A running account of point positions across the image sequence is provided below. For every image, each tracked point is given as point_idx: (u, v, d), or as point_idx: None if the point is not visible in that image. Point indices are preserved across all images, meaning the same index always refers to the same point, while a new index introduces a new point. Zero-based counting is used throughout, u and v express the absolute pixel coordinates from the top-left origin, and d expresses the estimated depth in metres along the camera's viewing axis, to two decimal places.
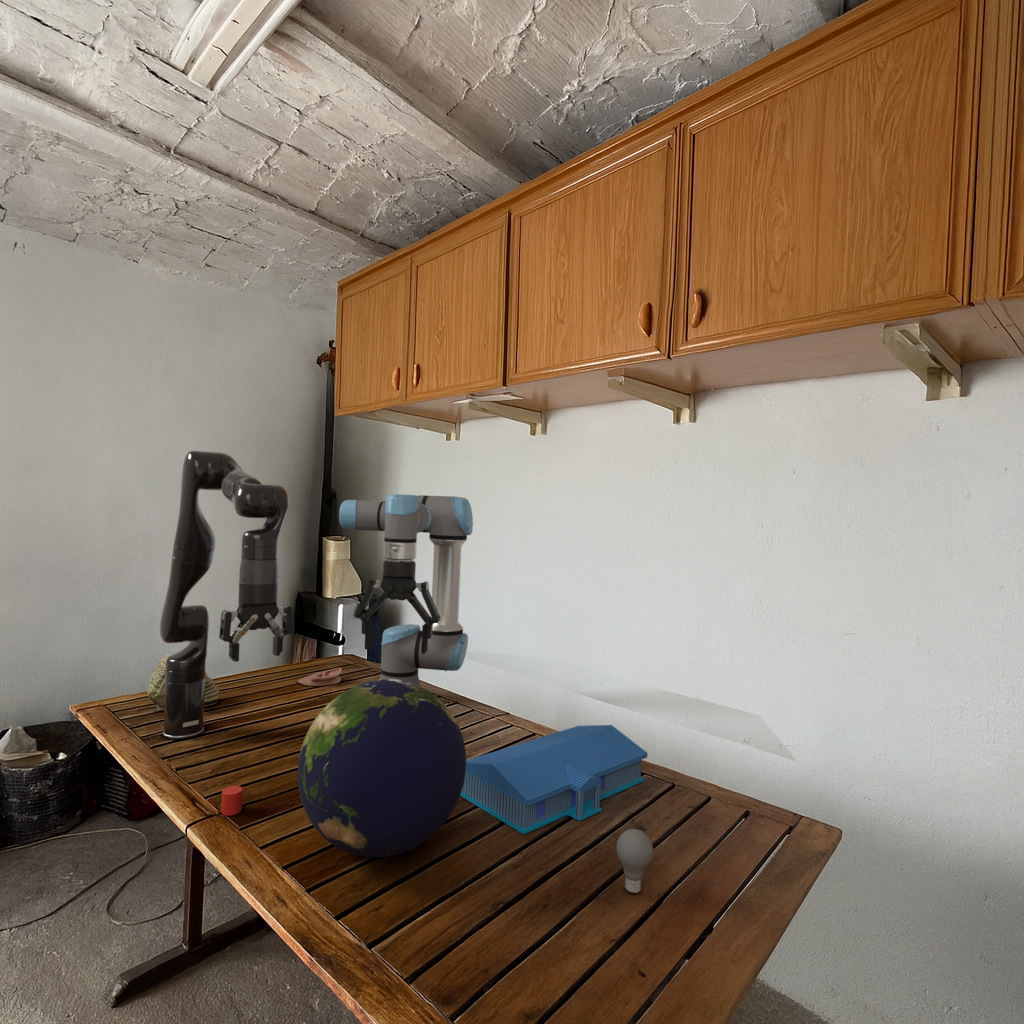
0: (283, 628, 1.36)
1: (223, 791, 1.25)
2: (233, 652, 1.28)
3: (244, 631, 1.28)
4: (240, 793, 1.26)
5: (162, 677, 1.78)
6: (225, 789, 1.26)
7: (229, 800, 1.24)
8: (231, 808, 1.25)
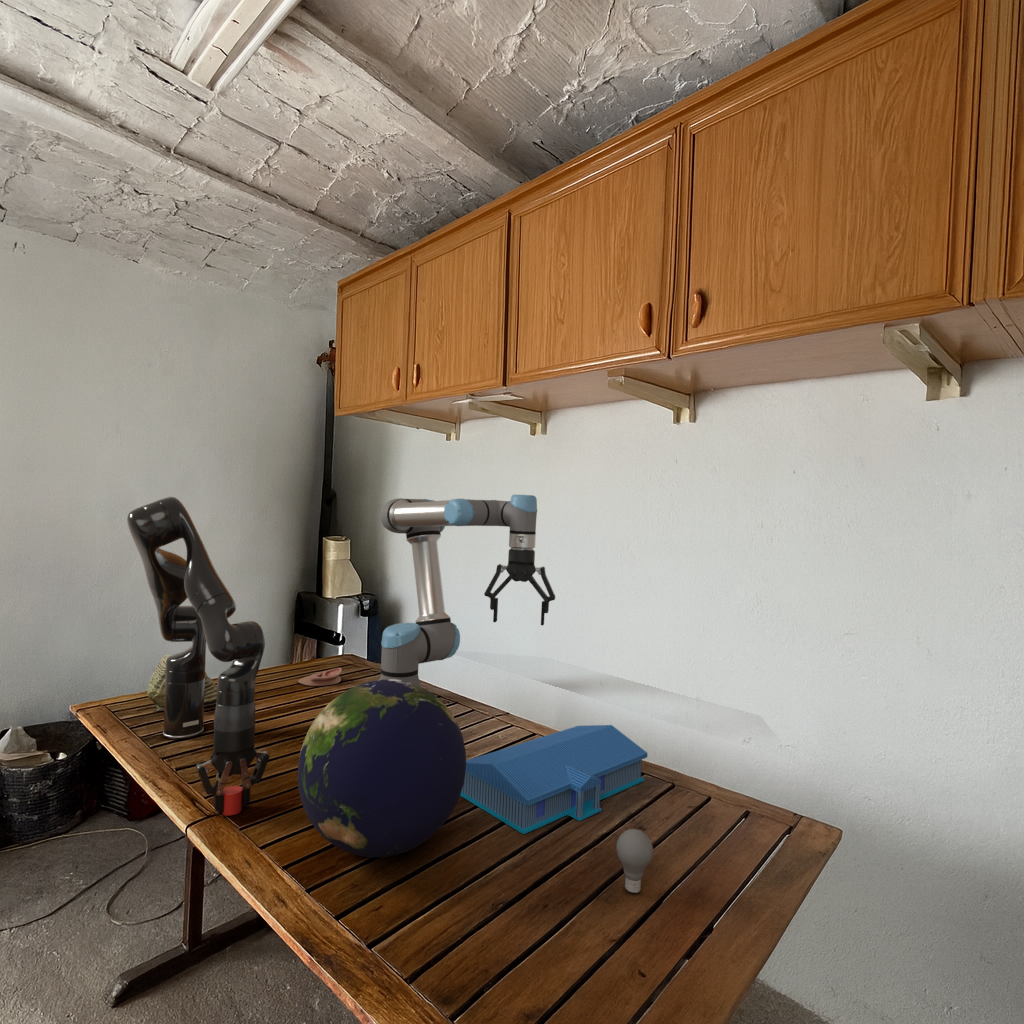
0: (212, 786, 1.24)
1: (223, 791, 1.25)
2: None
3: None
4: (240, 793, 1.26)
5: (162, 677, 1.78)
6: (225, 789, 1.26)
7: (229, 800, 1.24)
8: (231, 808, 1.25)
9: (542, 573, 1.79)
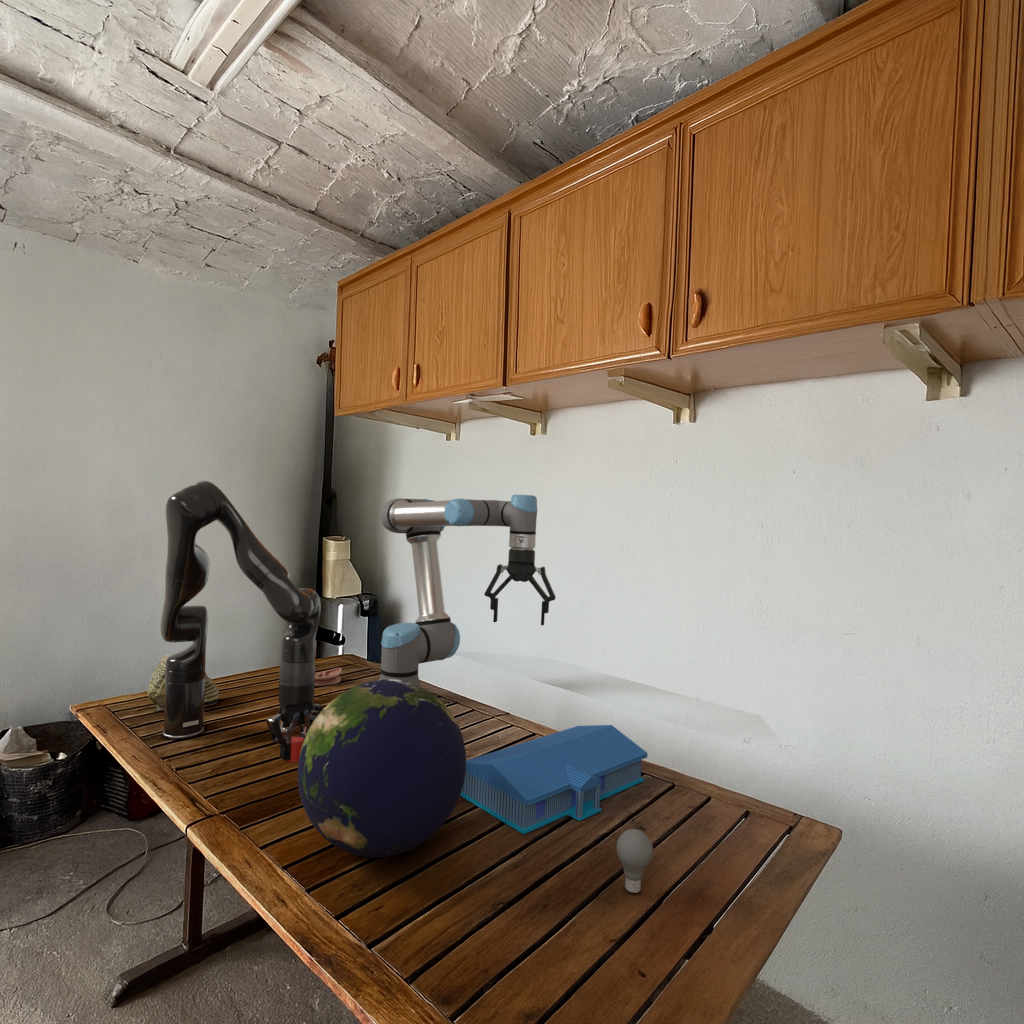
0: None
1: None
2: None
3: None
4: (303, 741, 1.40)
5: (162, 677, 1.78)
6: None
7: (296, 748, 1.38)
8: (298, 755, 1.39)
9: (542, 573, 1.79)
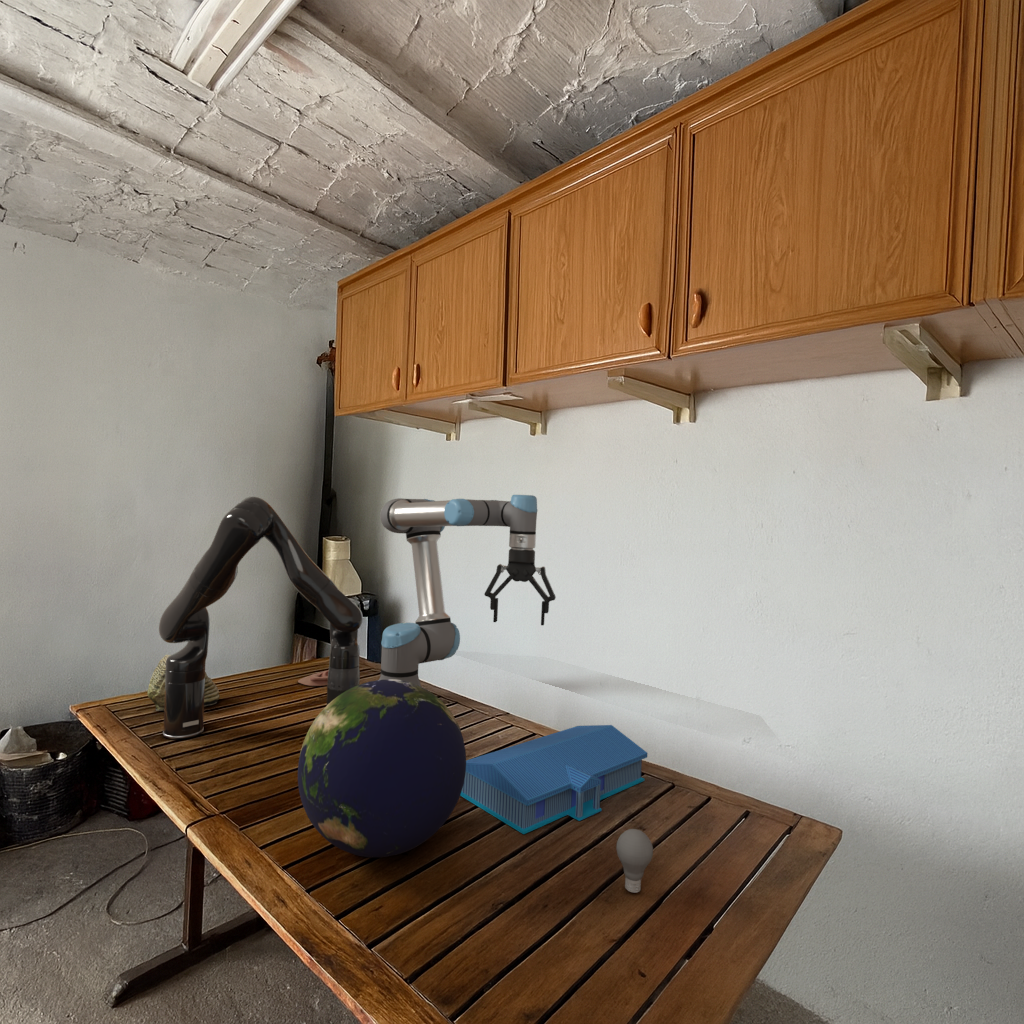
0: None
1: None
2: None
3: None
4: None
5: (162, 677, 1.78)
6: None
7: None
8: None
9: (542, 573, 1.79)
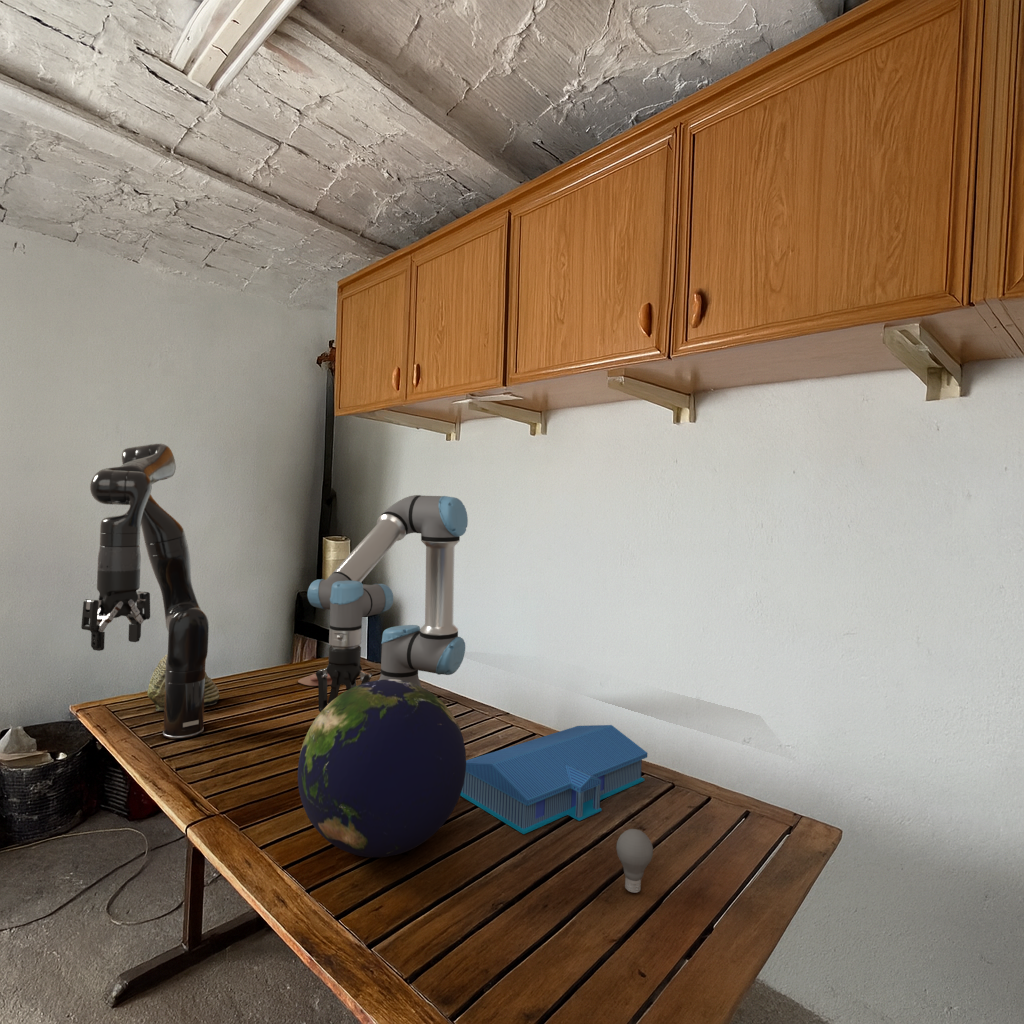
0: None
1: None
2: None
3: None
4: None
5: (162, 677, 1.78)
6: None
7: None
8: None
9: (364, 681, 1.51)
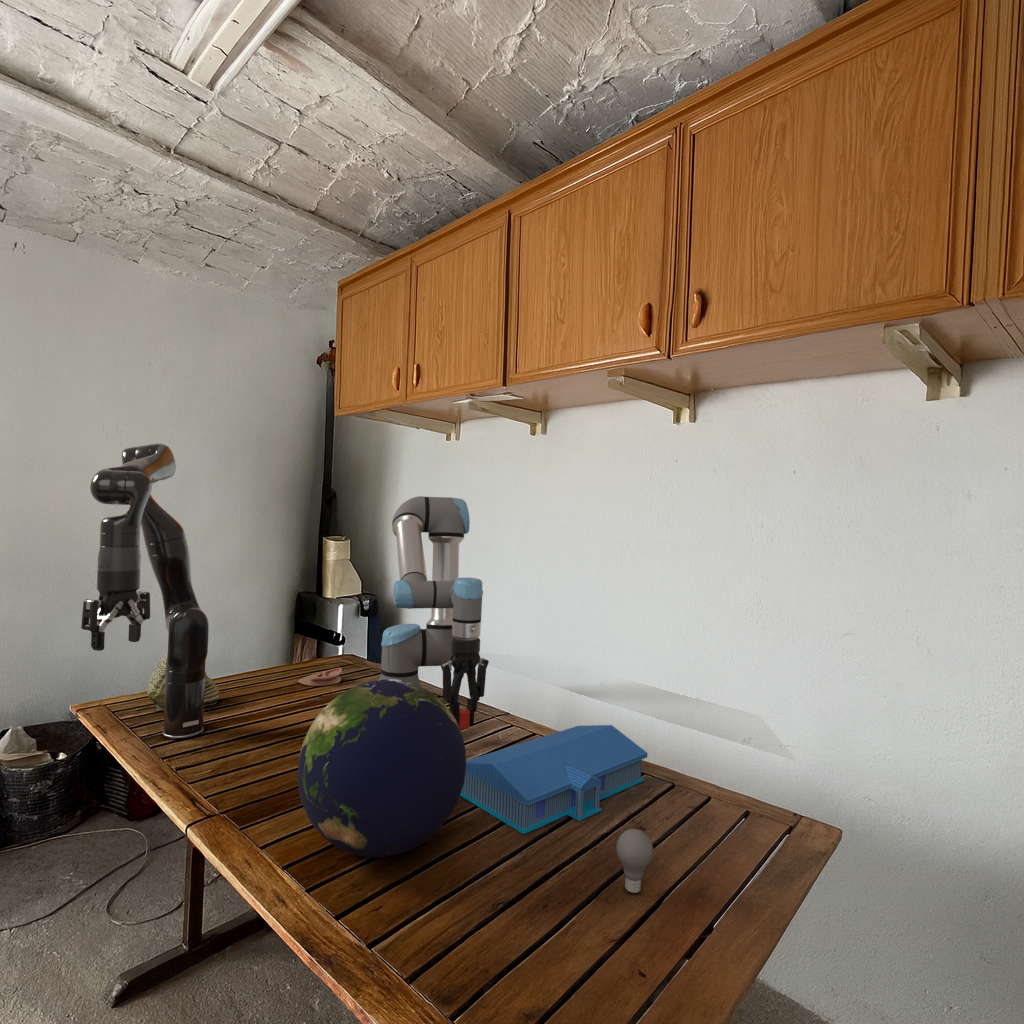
0: None
1: (464, 712, 1.65)
2: None
3: None
4: None
5: (162, 677, 1.78)
6: (461, 712, 1.65)
7: None
8: (469, 721, 1.67)
9: (484, 666, 1.69)
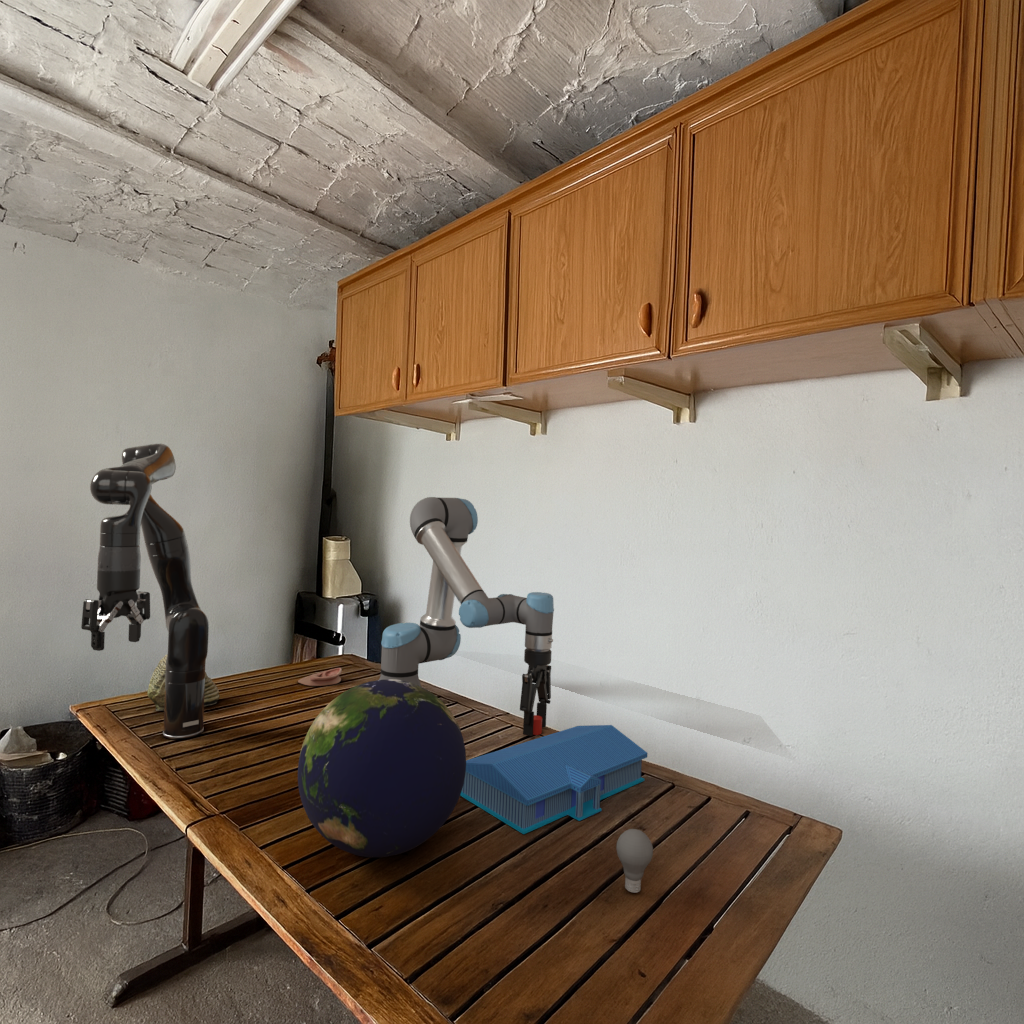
0: None
1: (539, 719, 1.75)
2: None
3: None
4: None
5: (162, 677, 1.78)
6: (536, 719, 1.75)
7: None
8: None
9: (549, 672, 1.81)
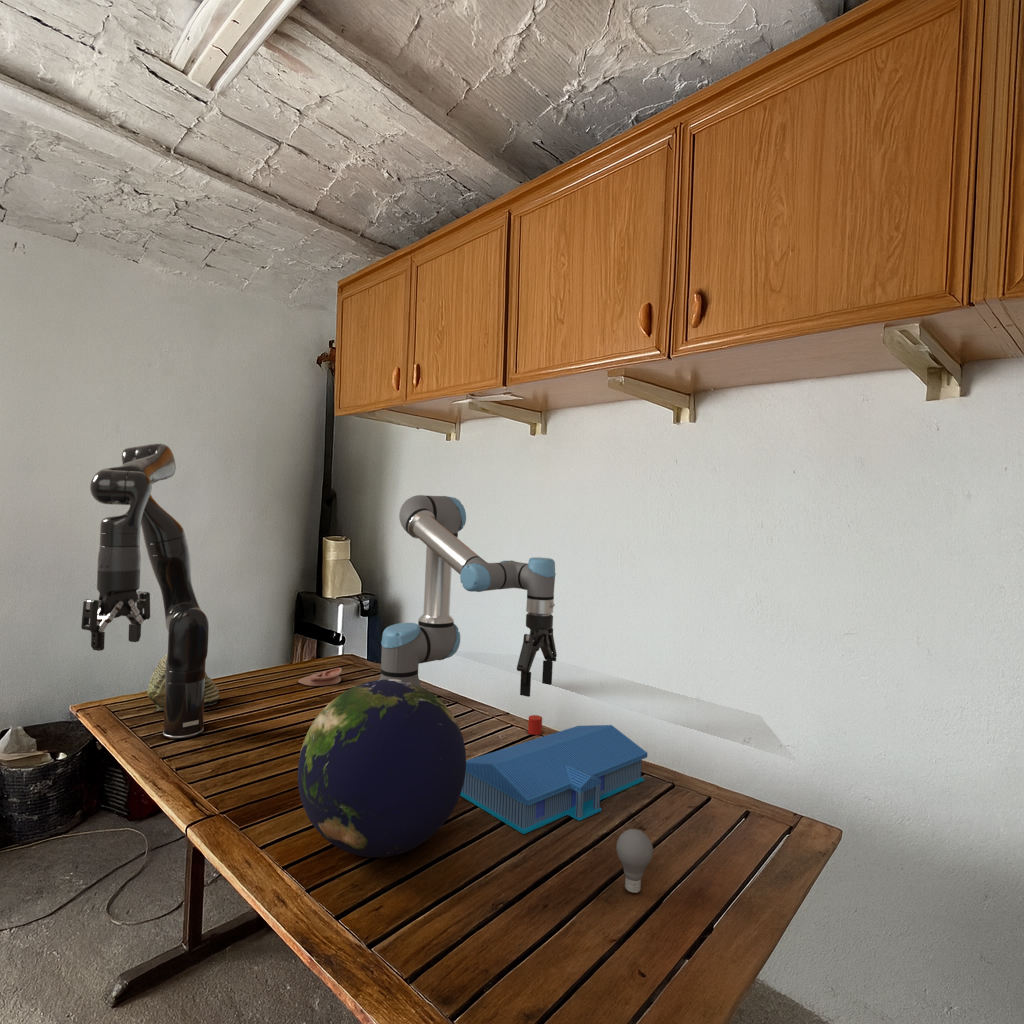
0: None
1: (539, 719, 1.75)
2: None
3: None
4: None
5: (162, 677, 1.78)
6: (536, 719, 1.75)
7: None
8: None
9: (552, 634, 1.81)
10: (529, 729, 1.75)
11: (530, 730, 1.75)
